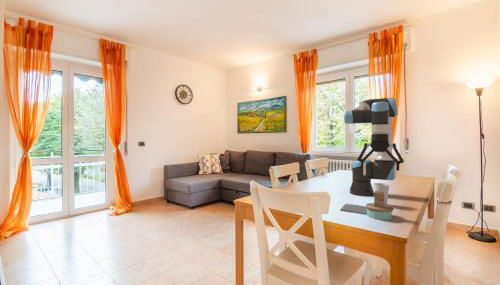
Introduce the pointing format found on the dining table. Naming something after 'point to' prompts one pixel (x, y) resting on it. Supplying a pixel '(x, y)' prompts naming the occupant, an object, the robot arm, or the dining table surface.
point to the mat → (354, 209)
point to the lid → (379, 203)
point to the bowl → (379, 215)
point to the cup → (382, 190)
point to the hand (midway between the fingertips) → (379, 176)
